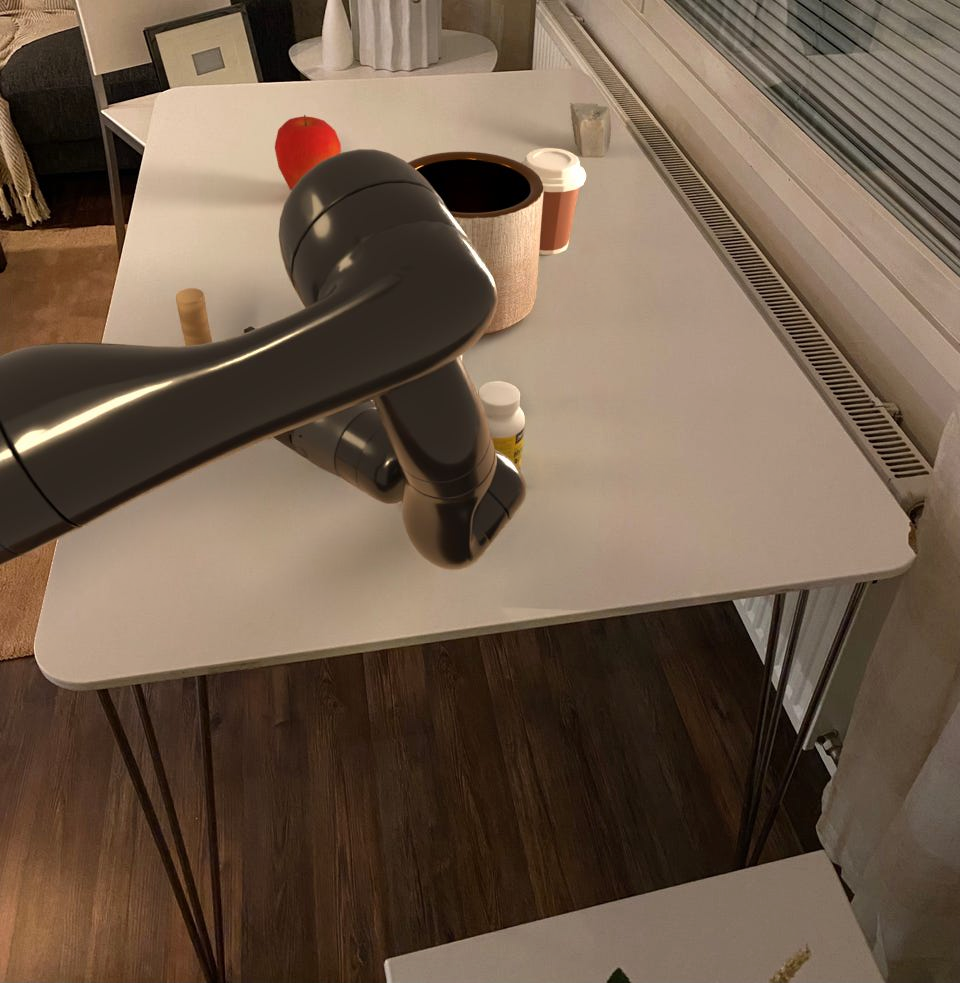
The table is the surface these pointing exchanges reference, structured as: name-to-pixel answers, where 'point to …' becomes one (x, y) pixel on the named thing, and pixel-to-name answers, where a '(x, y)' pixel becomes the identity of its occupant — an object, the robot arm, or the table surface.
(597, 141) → the mineral specimen
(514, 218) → the planter
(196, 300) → the wooden peg stand
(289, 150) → the apple
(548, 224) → the coffee cup
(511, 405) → the supplement bottle
